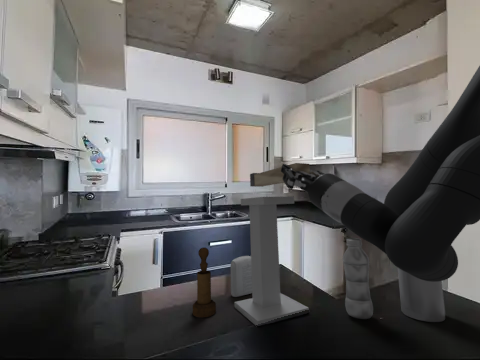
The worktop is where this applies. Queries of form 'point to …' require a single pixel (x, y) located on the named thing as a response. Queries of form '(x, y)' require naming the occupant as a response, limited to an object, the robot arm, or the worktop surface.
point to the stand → (266, 264)
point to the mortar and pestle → (204, 289)
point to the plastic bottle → (357, 280)
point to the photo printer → (241, 276)
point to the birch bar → (275, 175)
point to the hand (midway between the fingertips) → (290, 168)
